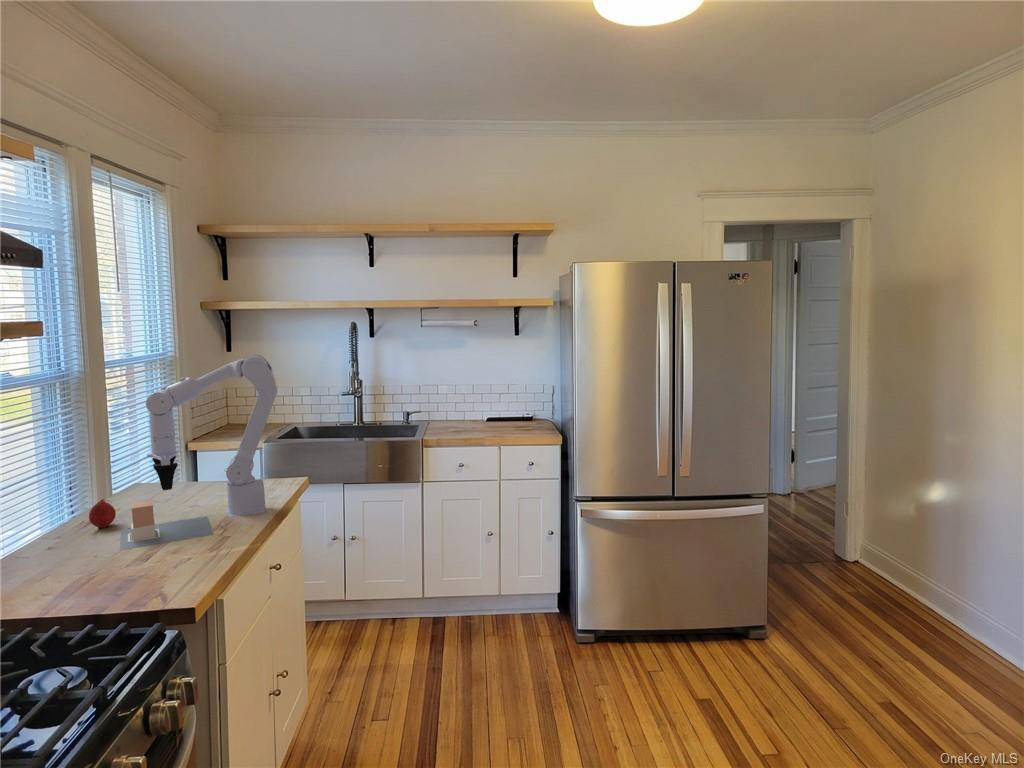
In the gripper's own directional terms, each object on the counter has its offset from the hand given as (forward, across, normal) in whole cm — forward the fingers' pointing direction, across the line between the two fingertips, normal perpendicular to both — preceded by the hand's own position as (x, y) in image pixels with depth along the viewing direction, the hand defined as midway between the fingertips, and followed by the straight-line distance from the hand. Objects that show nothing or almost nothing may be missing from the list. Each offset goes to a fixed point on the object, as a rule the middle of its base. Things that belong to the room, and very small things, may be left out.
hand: (166, 486), depth 171 cm
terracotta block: (+6, +12, -6) cm, 15 cm away
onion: (+10, -1, -15) cm, 18 cm away
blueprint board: (+9, +12, -1) cm, 15 cm away
